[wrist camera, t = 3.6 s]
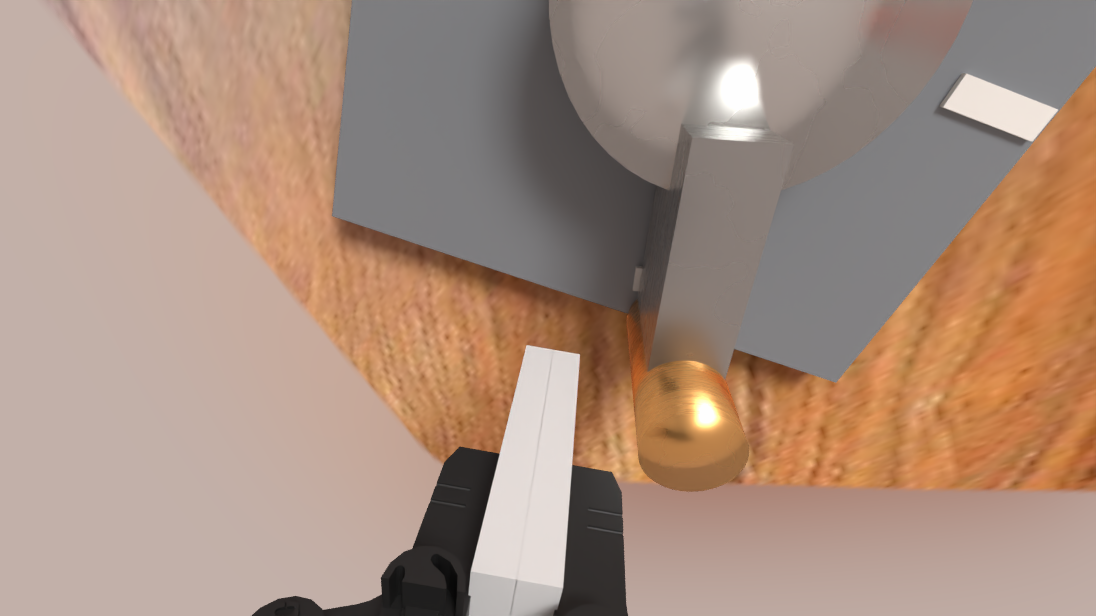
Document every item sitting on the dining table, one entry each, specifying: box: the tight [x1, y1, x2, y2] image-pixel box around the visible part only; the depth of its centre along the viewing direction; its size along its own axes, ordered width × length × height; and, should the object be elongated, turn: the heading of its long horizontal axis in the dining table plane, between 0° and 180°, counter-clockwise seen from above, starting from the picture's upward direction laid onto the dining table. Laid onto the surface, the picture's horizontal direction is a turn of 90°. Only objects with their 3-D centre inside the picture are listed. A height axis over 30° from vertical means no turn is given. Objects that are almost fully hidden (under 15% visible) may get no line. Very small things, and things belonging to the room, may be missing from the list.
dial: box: [549, 0, 973, 492], centre depth 13 cm, size 18×10×7 cm, turn 177°
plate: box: [332, 0, 1096, 382], centre depth 15 cm, size 22×22×2 cm
